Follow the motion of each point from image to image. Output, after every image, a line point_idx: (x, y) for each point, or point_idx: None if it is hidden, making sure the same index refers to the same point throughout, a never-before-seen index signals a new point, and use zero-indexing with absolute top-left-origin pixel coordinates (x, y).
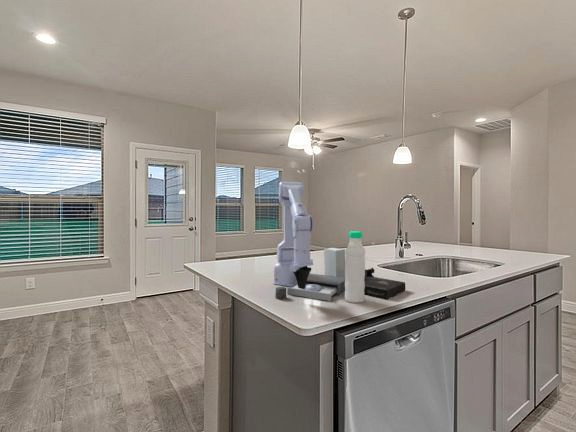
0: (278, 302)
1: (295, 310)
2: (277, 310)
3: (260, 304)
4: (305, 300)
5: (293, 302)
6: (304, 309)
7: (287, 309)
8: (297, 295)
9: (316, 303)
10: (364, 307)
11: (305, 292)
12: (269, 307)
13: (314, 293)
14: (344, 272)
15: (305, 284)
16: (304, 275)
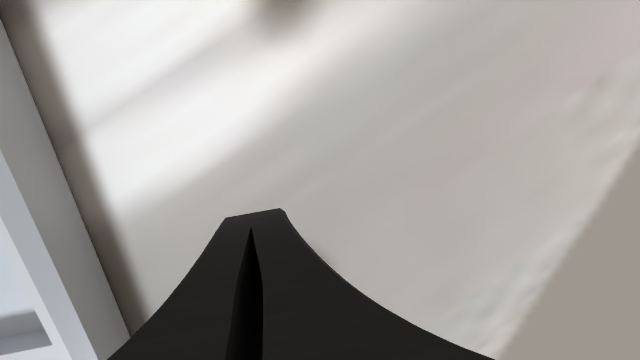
0: (387, 304)
1: (505, 67)
2: (566, 188)
3: (495, 354)
4: (174, 171)
5: (311, 219)
6: (438, 7)
7: (511, 142)
8: (119, 311)
9: (173, 7)
10: None
11: (68, 261)
12: (527, 274)
13: (13, 148)
14: None
15: (242, 234)
16: (423, 336)
